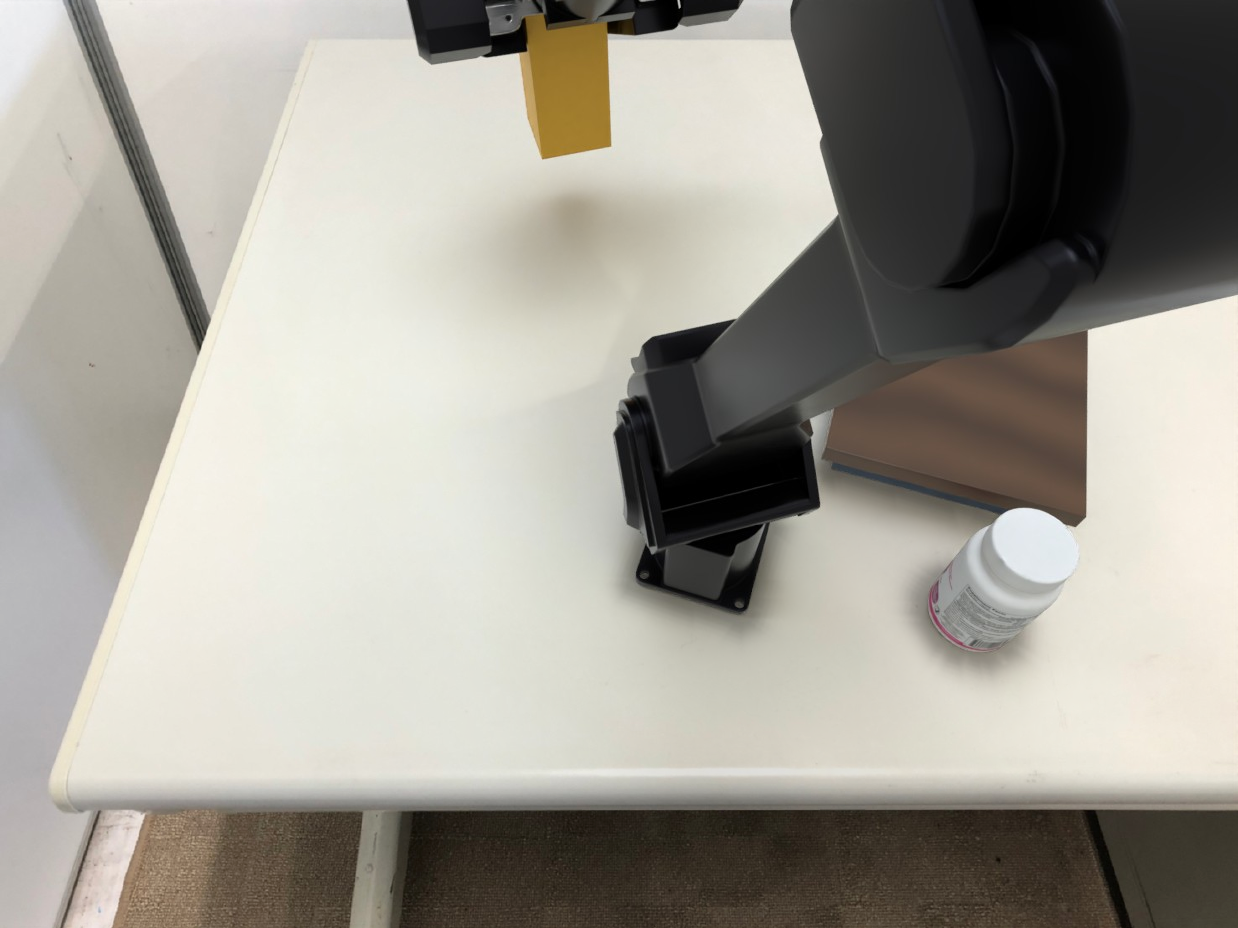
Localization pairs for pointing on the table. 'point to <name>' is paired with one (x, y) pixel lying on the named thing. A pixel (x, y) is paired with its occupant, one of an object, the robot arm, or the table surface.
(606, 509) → the table surface
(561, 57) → the block
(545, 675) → the table surface
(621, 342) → the table surface
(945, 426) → the board
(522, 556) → the table surface
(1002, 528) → the pill bottle
